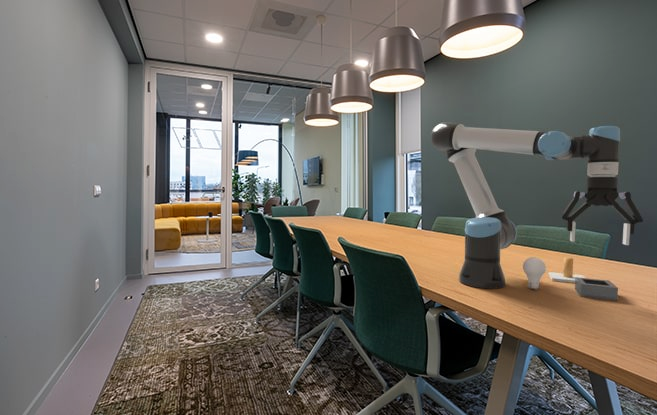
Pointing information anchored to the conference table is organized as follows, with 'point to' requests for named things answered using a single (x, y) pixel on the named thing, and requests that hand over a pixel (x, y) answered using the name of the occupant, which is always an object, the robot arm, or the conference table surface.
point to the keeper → (565, 273)
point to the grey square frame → (596, 288)
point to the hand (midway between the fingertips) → (598, 242)
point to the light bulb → (534, 271)
